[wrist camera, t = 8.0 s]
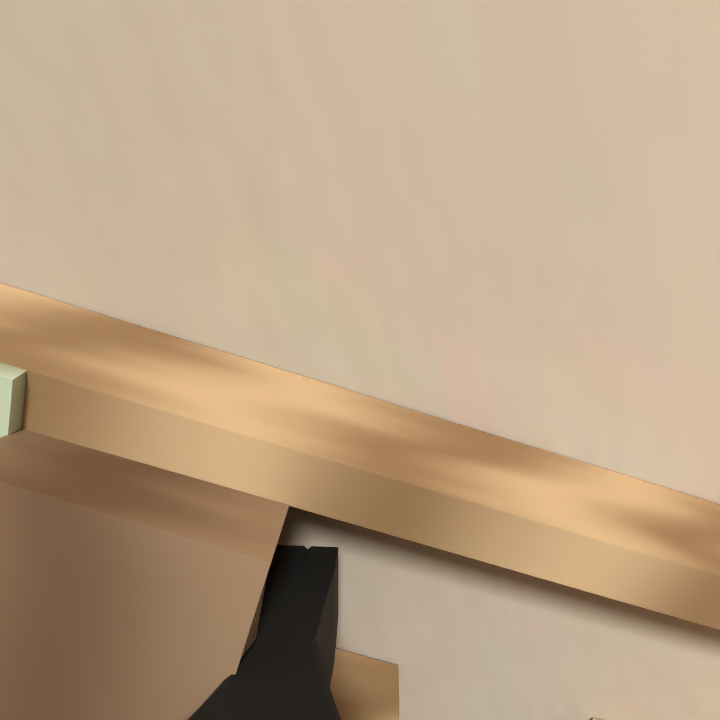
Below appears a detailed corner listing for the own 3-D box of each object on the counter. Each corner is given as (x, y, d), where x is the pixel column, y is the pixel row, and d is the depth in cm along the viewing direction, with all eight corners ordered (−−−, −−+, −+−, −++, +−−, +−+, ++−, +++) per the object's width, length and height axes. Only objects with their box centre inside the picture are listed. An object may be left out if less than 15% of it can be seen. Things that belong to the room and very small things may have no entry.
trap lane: (868, 550, 14) (1007, 672, 11) (587, 879, 20) (625, 1022, 17) (-112, 249, 12) (-285, 292, 9) (-109, 708, 18) (-214, 832, 15)
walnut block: (305, 453, 14) (270, 562, 9) (248, 635, 14) (186, 829, 9) (100, 390, 13) (-57, 464, 8) (54, 578, 14) (-114, 746, 9)
